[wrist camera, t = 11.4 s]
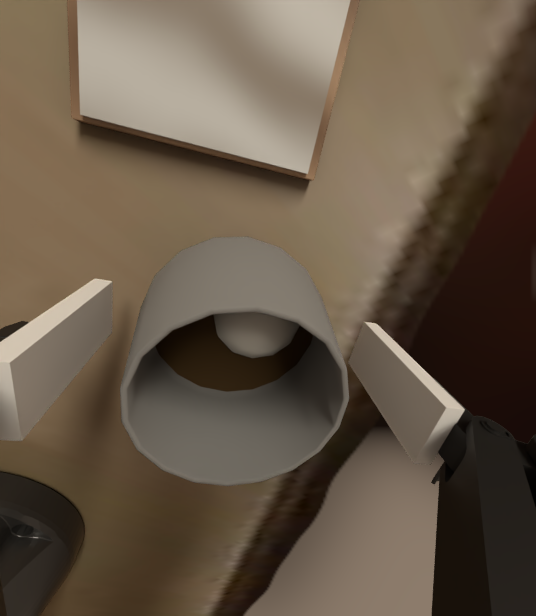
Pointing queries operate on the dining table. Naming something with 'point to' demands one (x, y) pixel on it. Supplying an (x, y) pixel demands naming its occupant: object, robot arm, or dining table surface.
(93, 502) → the dining table surface
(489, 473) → the robot arm
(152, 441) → the cup
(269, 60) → the green and white board
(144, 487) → the dining table surface
